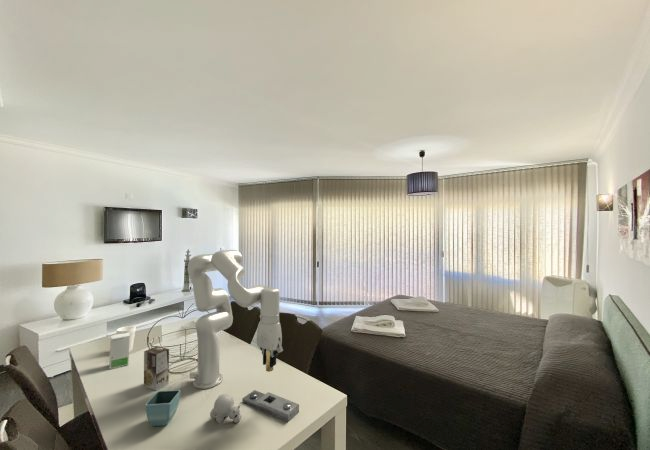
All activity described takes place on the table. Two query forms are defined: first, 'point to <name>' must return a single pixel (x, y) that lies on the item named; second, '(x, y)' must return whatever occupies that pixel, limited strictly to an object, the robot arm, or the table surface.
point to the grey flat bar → (272, 405)
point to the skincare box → (119, 350)
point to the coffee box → (156, 367)
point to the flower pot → (162, 407)
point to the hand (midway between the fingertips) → (269, 364)
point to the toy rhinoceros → (225, 409)
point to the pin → (268, 361)
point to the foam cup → (131, 331)
